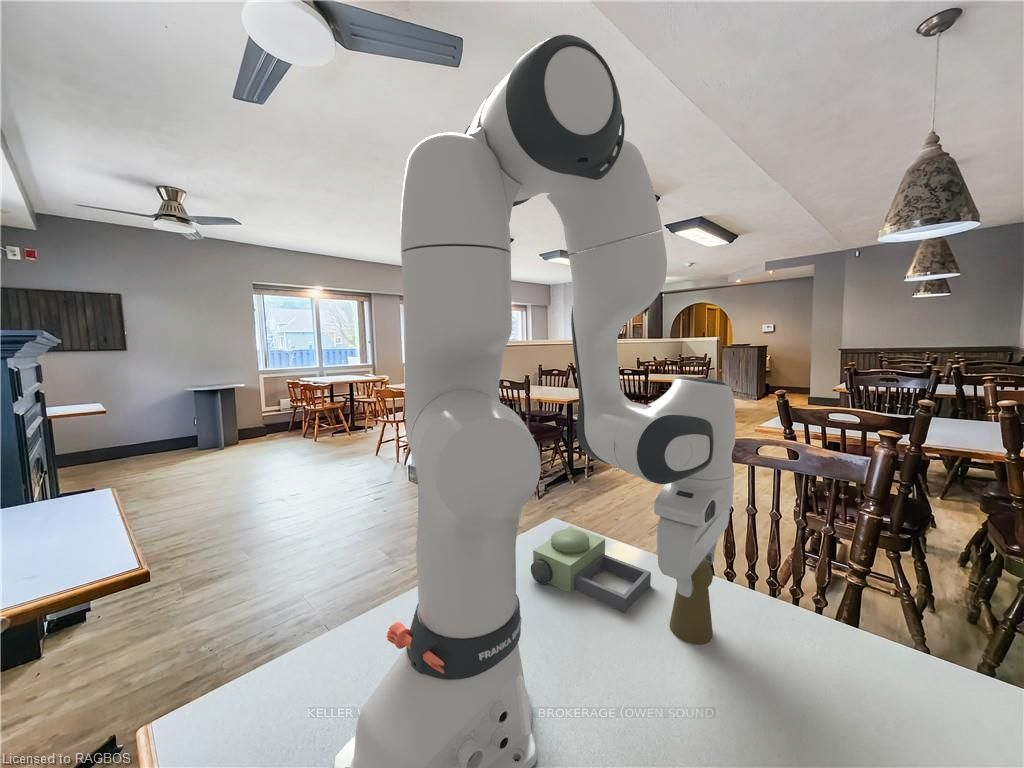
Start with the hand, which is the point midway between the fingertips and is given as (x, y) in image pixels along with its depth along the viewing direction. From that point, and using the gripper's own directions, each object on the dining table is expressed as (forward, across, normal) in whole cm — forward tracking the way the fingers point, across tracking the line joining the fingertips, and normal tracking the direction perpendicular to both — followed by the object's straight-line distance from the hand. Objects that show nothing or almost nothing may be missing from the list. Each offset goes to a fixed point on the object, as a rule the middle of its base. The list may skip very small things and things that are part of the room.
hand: (696, 577), depth 64 cm
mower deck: (+8, -1, -18) cm, 20 cm away
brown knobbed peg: (+8, +1, 0) cm, 9 cm away
